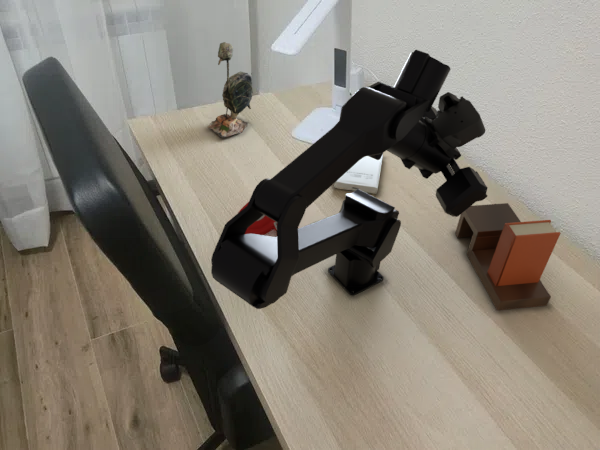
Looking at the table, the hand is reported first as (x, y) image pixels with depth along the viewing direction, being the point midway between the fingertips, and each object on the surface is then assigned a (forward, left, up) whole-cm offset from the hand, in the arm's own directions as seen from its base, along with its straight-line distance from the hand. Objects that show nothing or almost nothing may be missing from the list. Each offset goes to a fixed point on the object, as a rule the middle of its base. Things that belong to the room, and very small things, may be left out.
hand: (471, 176), depth 85 cm
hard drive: (-2, +24, -13) cm, 27 cm away
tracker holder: (-26, +19, -13) cm, 35 cm away
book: (0, -13, -11) cm, 17 cm away
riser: (+1, -9, -13) cm, 16 cm away
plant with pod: (-15, +52, -13) cm, 56 cm away
